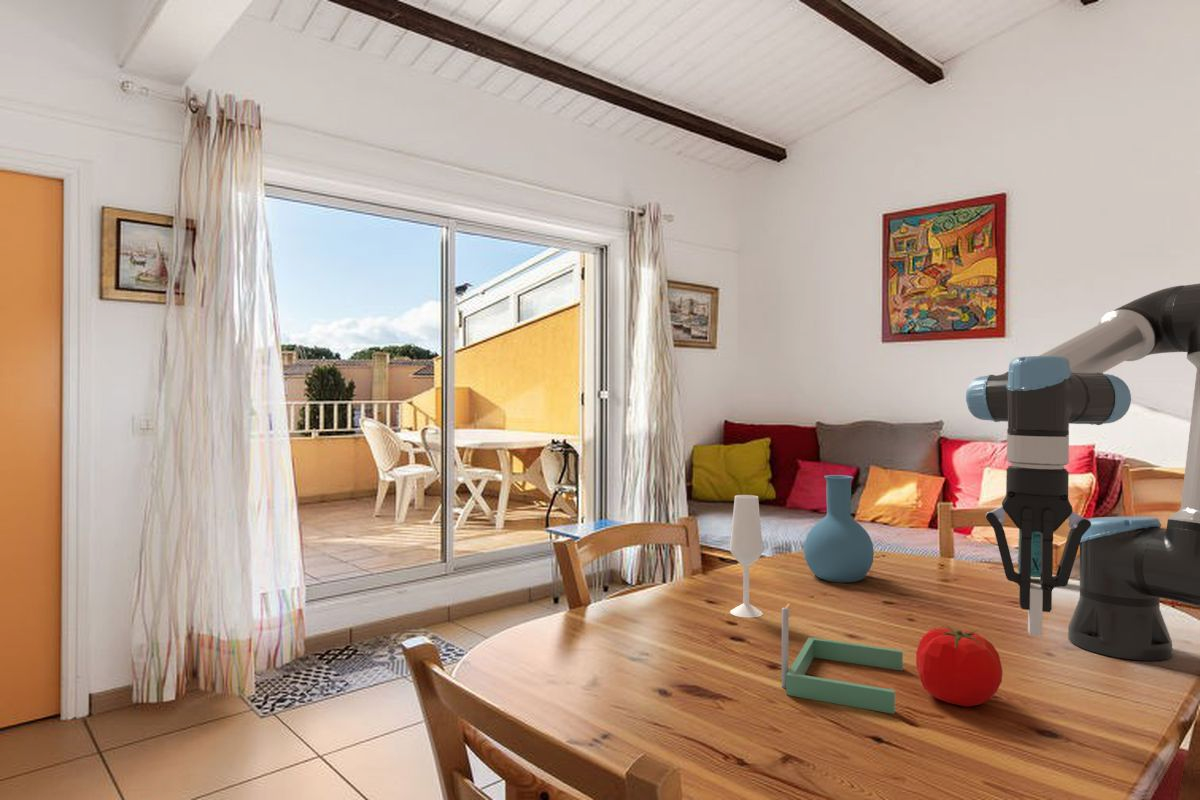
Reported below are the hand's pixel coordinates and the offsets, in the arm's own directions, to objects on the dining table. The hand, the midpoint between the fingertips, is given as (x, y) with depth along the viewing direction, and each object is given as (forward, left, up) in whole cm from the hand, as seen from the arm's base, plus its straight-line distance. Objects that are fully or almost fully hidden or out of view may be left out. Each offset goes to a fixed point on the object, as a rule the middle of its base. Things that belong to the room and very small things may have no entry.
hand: (1034, 633), depth 103 cm
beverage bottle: (-7, -86, -11) cm, 87 cm away
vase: (+36, -68, -11) cm, 78 cm away
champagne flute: (+49, -29, -11) cm, 58 cm away
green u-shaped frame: (+26, 0, -11) cm, 28 cm away
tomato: (+10, 0, -11) cm, 15 cm away
